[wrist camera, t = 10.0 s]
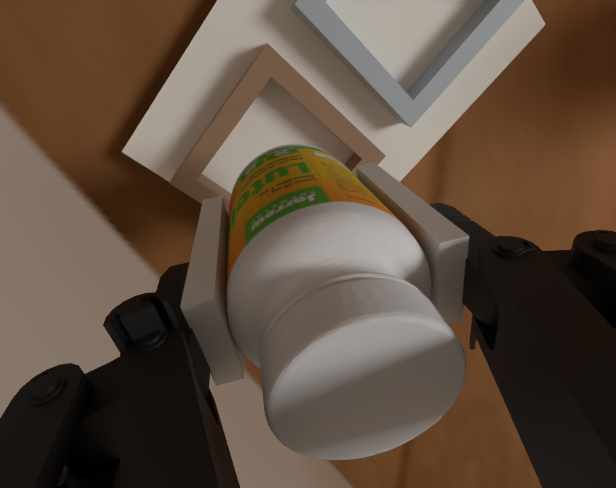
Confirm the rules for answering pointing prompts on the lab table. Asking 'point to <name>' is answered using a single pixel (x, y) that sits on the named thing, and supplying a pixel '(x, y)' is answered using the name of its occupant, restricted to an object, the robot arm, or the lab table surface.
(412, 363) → the supplement bottle
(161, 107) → the socket board
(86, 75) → the lab table surface
